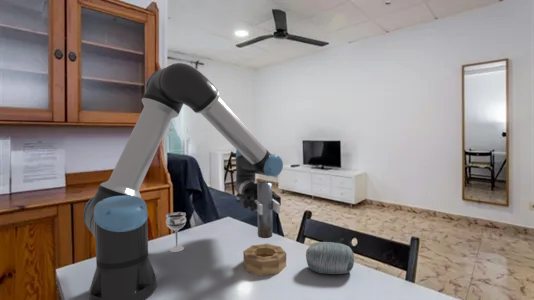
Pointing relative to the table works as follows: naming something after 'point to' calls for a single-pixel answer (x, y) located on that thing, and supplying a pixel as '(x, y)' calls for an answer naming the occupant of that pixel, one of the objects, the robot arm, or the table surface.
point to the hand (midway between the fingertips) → (270, 209)
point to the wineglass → (176, 226)
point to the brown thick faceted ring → (264, 259)
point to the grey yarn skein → (330, 258)
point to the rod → (265, 209)
